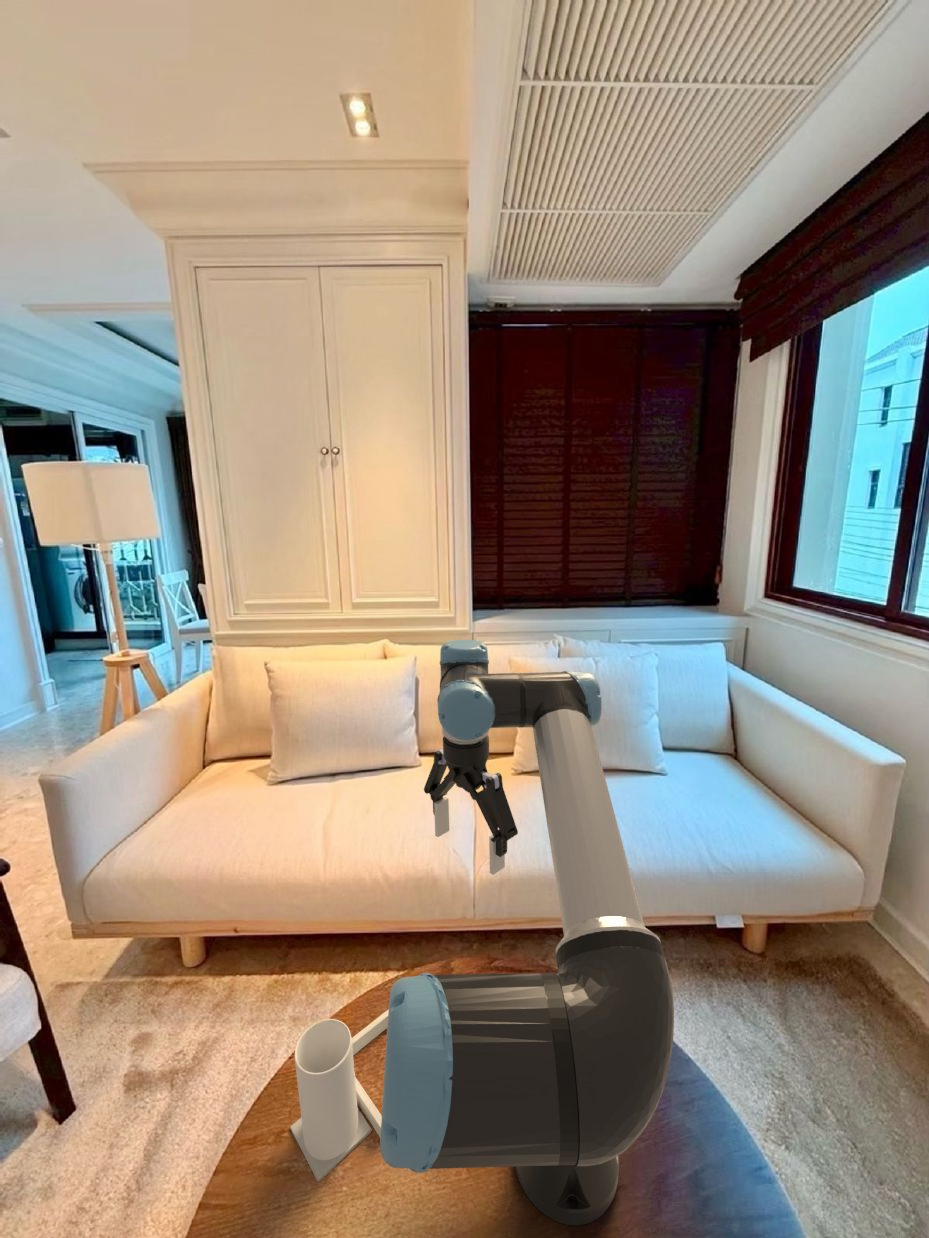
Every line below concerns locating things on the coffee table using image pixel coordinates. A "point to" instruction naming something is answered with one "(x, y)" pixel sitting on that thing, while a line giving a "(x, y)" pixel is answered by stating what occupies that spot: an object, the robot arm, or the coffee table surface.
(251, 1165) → the coffee table surface
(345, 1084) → the cup
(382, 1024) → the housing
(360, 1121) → the pad
